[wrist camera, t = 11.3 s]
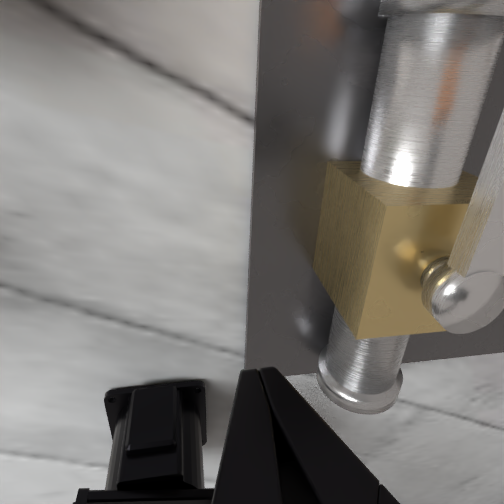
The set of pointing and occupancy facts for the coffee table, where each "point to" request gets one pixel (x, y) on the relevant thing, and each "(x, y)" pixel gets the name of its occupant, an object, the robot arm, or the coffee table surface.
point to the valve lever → (474, 255)
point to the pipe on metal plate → (365, 184)
